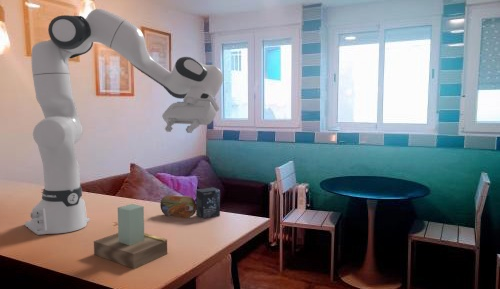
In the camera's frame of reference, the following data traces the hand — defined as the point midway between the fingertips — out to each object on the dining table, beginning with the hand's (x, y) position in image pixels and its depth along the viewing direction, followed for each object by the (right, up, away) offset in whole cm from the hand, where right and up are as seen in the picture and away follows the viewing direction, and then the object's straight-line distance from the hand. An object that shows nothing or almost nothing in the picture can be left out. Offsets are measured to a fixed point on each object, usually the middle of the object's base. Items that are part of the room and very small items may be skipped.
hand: (177, 131), depth 123 cm
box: (+8, -33, +22) cm, 40 cm away
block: (-10, -32, -17) cm, 38 cm away
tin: (-4, -33, +20) cm, 39 cm away
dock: (-10, -36, -17) cm, 41 cm away
